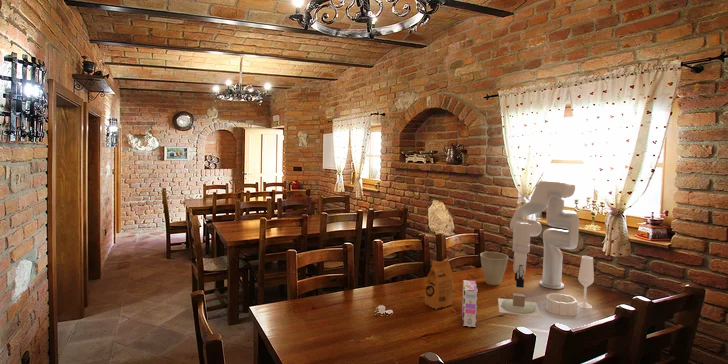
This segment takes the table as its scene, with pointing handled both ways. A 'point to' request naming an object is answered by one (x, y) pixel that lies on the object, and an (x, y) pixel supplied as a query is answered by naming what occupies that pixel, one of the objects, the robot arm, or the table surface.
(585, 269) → the champagne flute
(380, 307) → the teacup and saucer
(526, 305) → the lid
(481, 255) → the plant pot
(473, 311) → the candy box
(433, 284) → the coffee package
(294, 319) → the table surface
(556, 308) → the bowl
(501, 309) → the mat
